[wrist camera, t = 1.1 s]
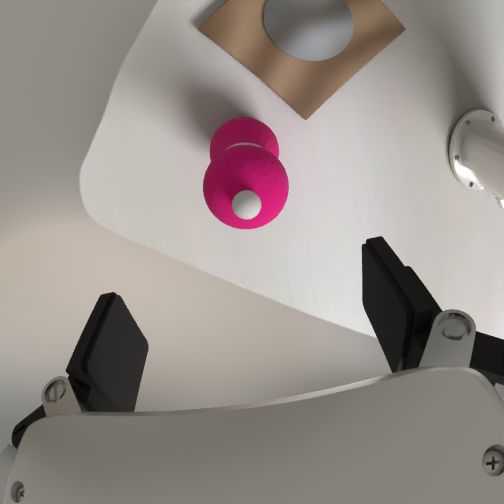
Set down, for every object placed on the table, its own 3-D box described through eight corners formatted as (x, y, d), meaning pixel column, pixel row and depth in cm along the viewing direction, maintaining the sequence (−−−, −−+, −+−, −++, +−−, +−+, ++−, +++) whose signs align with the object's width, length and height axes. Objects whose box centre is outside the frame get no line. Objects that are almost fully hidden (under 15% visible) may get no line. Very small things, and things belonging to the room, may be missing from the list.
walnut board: (400, 30, 27) (407, 28, 26) (303, 118, 34) (306, 120, 32) (306, -58, 21) (309, -63, 20) (199, 31, 28) (197, 28, 26)
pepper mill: (223, 106, 33) (202, 134, 16) (282, 124, 34) (326, 172, 17) (206, 163, 36) (174, 246, 19) (263, 179, 38) (283, 273, 20)
